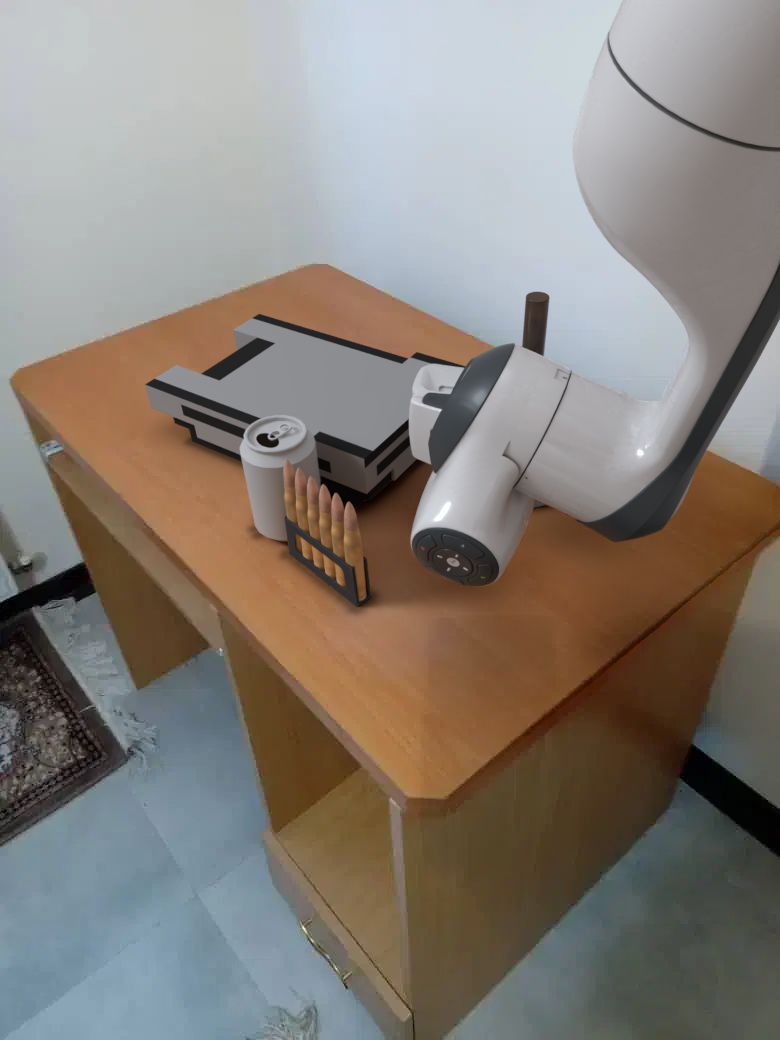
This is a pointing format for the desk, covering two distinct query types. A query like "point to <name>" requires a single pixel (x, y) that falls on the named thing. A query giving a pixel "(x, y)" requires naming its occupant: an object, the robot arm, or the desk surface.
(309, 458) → the can
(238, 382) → the game console
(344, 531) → the ammunition clip
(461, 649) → the desk surface
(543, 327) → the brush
